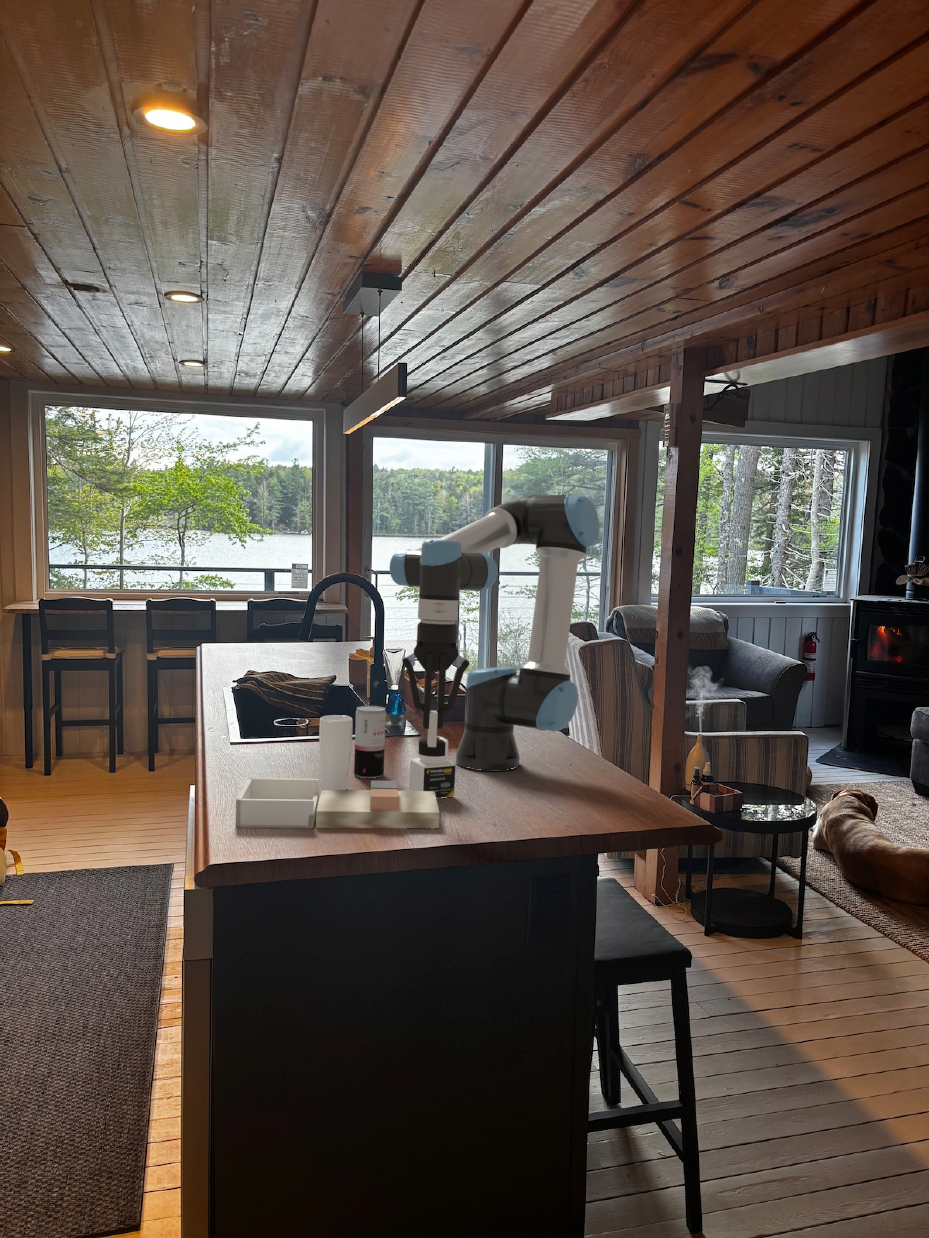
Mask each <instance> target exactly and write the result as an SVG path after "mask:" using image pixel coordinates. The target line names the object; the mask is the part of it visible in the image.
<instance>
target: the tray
mask: <svg viewBox="0 0 929 1238" xmlns="http://www.w3.org/2000/svg"><path fill="white" fill-rule="evenodd" d="M319 798H320V778H289V777H287V778H282V777H281V778H278V777H277V778H276V777H248V778H247V780H246V782H245V783H244V785H243V787H242V788H241V791H240V793H239V794H238V796H237V798H236V799H235V829H238V828H239V829H311V828H313V829H314V826H315V823H316V811H317V807H318V802H319Z"/></svg>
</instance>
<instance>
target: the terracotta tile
mask: <svg viewBox="0 0 929 1238" xmlns="http://www.w3.org/2000/svg"><path fill="white" fill-rule="evenodd" d="M370 790H371V797H370V810H398V791H399V789H371V788H370Z"/></svg>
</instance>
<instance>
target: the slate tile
mask: <svg viewBox="0 0 929 1238" xmlns="http://www.w3.org/2000/svg"><path fill="white" fill-rule="evenodd" d="M398 788H399V787H398V780H370V790H371V789H398ZM398 790H399V789H398ZM370 797H371V796H370Z"/></svg>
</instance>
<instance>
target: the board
mask: <svg viewBox="0 0 929 1238" xmlns="http://www.w3.org/2000/svg"><path fill="white" fill-rule="evenodd" d="M370 796H371V789H369V790H368V789H365V790H364V789H363V790H362V789H358V790H357V789H355V790H354V789H346V790H323V789H321V790H320V793H319V802H318V807H317V811H316V818H315V828H316V829H318V828H320V829H321V828H322V829H323V828H324V829H327V828H328V829H333V828H334V829H407V828H426V830H430V829H431V830H432V829H433V830H436V829H435V828H439V829H440V810H439V805H438V799H437V800H436V795H435V791H409V790H398V810H370ZM428 828H430V829H428Z"/></svg>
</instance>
